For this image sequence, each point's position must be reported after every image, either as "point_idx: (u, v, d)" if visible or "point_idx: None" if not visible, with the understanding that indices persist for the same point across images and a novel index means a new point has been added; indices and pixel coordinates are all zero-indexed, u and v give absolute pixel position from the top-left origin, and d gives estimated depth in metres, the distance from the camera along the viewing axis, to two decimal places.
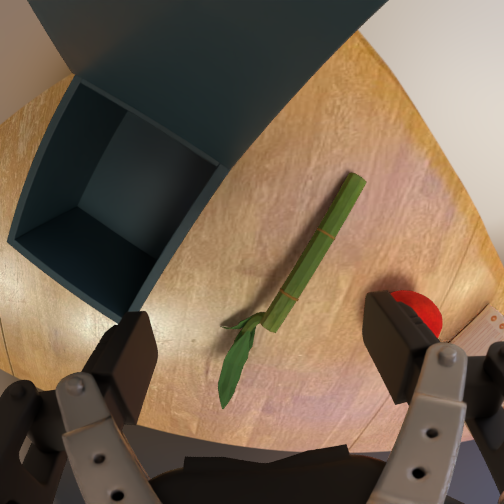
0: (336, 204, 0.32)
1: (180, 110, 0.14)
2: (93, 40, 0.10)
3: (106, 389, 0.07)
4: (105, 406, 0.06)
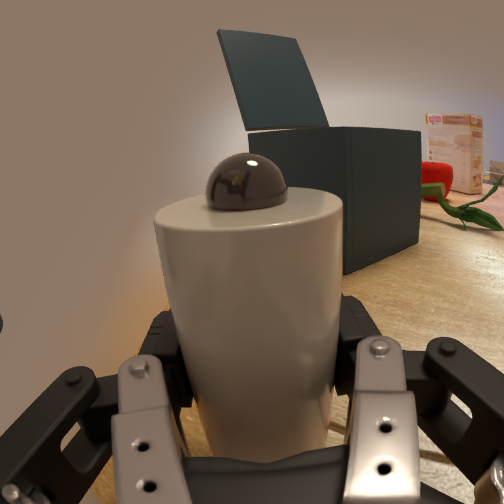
0: None
1: (300, 97, 0.40)
2: (264, 79, 0.38)
3: (169, 370, 0.08)
4: (165, 393, 0.06)
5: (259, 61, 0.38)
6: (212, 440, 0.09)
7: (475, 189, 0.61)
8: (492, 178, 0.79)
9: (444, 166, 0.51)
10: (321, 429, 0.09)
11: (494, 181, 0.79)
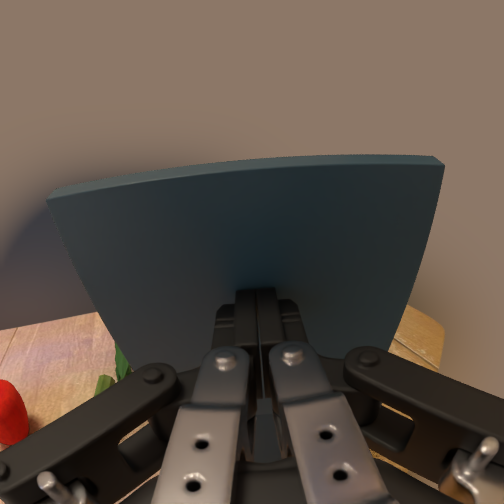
0: None
1: None
2: None
3: (250, 361, 0.08)
4: (244, 391, 0.06)
5: None
6: None
7: None
8: None
9: (8, 383, 0.28)
10: None
11: None
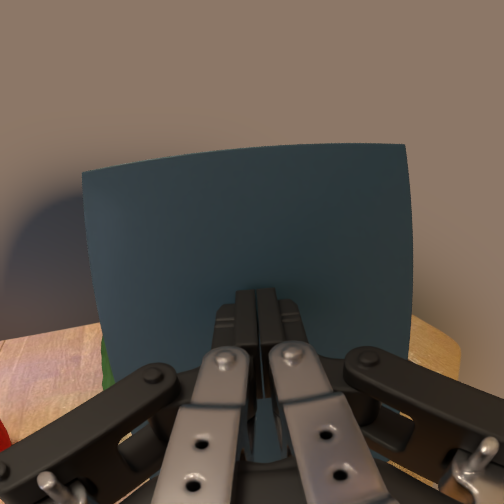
0: None
1: None
2: None
3: (250, 361, 0.08)
4: (244, 391, 0.06)
5: None
6: None
7: None
8: None
9: None
10: None
11: None
